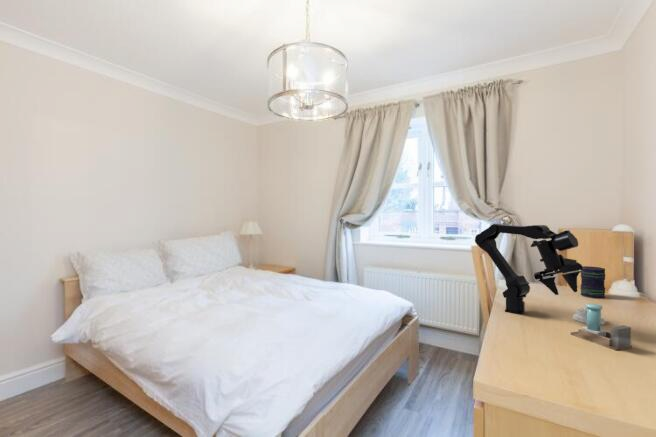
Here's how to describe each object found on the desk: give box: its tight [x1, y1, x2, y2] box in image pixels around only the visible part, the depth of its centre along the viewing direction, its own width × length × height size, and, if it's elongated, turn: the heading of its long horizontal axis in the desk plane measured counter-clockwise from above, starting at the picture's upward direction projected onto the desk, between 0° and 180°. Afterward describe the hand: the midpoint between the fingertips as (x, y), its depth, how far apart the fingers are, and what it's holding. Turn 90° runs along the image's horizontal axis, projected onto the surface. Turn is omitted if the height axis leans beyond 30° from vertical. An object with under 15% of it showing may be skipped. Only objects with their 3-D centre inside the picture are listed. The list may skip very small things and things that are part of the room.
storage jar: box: [580, 265, 606, 300], centre depth 162 cm, size 10×10×15 cm
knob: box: [581, 303, 607, 337], centre depth 107 cm, size 5×4×11 cm
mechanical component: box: [572, 307, 606, 325], centre depth 125 cm, size 10×4×10 cm
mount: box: [570, 324, 633, 351], centre depth 105 cm, size 14×8×7 cm, turn 17°
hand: (566, 293), depth 119 cm, fingers open, 9 cm apart
